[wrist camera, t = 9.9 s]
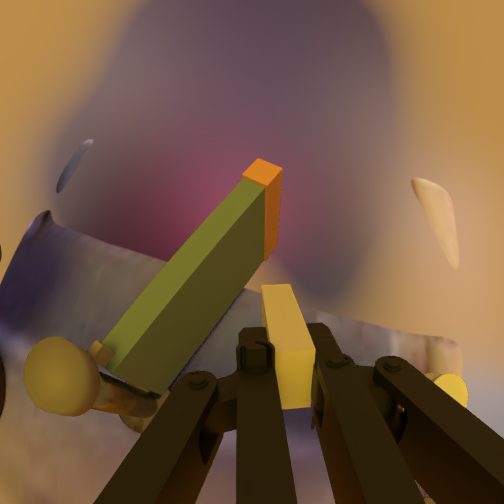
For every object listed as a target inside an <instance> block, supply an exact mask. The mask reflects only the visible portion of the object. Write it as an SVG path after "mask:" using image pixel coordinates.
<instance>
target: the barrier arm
mask: <svg viewBox="0 0 504 504" xmlns="http://www.w3.org/2000/svg"><path fill="white" fill-rule="evenodd" d="M281 184H282V168H280V167H278V166H276V165H273V164H271V163H268V162H266V161H264V160H261V159H259V158H258V159H257V160H256V161H255V162H254V163H253V164H252V165H251V166H250V167H249V168H248V169H247V170H246V171H245V172H244V173H243V174H242V181H241V182H240V183H239V184H238V185H237V186H236V187H235V189H234V190H233V191H232V192H231V193H230V194H229V195H228V196H227V197H226V198H225V199H224V200H223V201H222V203H221V204H220V205H219V206H218V207H217V208H216V209H215V210H214V211H213V212H212V213H211V214H210V216H209V217H208V218H207V219H206V220H205V221H204V222H203V223H202V225H200V227H199V228H198V229H197V230H196V231H195V232H194V233H193V235H192V236H191V237H190V238H189V239H188V240H187V241H186V243H184V245H183V246H182V247H181V248H180V249H179V250H178V251H177V253H176V254H175V255H174V256H173V257H172V258H171V259H170V261H169V262H168V263H167V264H166V265H165V266H164V268H163V269H162V270H161V271H160V272H159V273H158V275H157V276H156V277H155V278H154V279H153V280H152V282H151V283H150V284H149V285H148V286H147V288H146V289H145V290H144V291H143V292H142V294H141V295H140V296H139V297H138V298H137V300H136V301H135V302H134V303H133V304H132V306H131V307H130V308H129V309H128V310H127V312H126V313H125V314H124V315H123V317H122V318H121V319H120V320H119V322H118V323H117V324H116V325H115V326H114V328H113V329H112V330H111V331H110V333H109V334H108V335H107V336H106V338H105V339H104V340H103V342H102V343H101V342H99V341H98V340H95V342H94V343H93V344H92V346H91V347H90V348H89V349H88V351H87V352H86V351H84V350H83V349H81V348H79V347H78V346H76V345H74V344H73V343H71V342H69V341H68V340H66V339H64V338H61V337H48V338H45V339H43V340H41V341H39V342H38V343H37V344H36V345H35V346H34V347H33V348H32V350H31V351H30V353H29V355H28V357H27V359H26V363H25V367H24V382H25V387H26V390H27V393H28V395H29V397H30V398H31V400H32V401H33V403H34V404H35V405H36V406H37V407H39V408H40V409H42V410H44V411H46V412H50V413H54V414H59V415H65V416H72V417H73V416H79V415H82V414H84V413H86V412H87V411H88V410H90V409H91V407H92V406H93V405H94V403H95V402H96V400H97V398H98V395H99V391H100V374H99V370H98V367H97V365H96V363H97V364H99V365H101V366H103V367H105V368H106V369H107V370H108V371H109V372H110V373H111V374H113V375H115V376H117V377H119V378H122V379H124V380H126V381H128V382H131V383H133V384H135V385H138V386H140V387H142V388H145V389H147V390H150V391H152V392H155V393H157V394H160V395H163V394H164V392H165V391H166V390H167V388H168V387H169V386H170V385H171V383H172V382H173V381H174V379H175V378H176V377H177V375H178V374H179V373H180V371H181V370H182V369H183V367H184V366H185V365H186V364H187V362H188V361H189V360H190V358H191V357H192V356H193V354H194V353H195V352H196V350H197V349H198V348H199V346H200V345H201V344H202V342H203V341H204V340H205V338H206V337H207V336H208V334H209V333H210V332H211V330H212V329H213V328H214V326H215V325H216V324H217V322H218V321H219V320H220V318H221V317H222V316H223V314H224V313H225V312H226V310H227V309H228V308H229V306H230V305H231V304H232V302H233V301H234V300H235V298H236V297H237V296H238V294H239V293H240V292H241V290H242V289H243V288H244V286H245V285H246V284H247V282H248V281H249V279H250V278H251V277H252V275H253V274H254V273H255V271H256V270H257V269H258V267H259V266H260V265H261V263H262V262H263V261H264V260H265V261H266V260H267V259H268V257H269V256H270V254H271V253H272V252H273V250H274V249H275V248H276V246H277V240H278V227H279V214H280V199H281Z"/></svg>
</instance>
